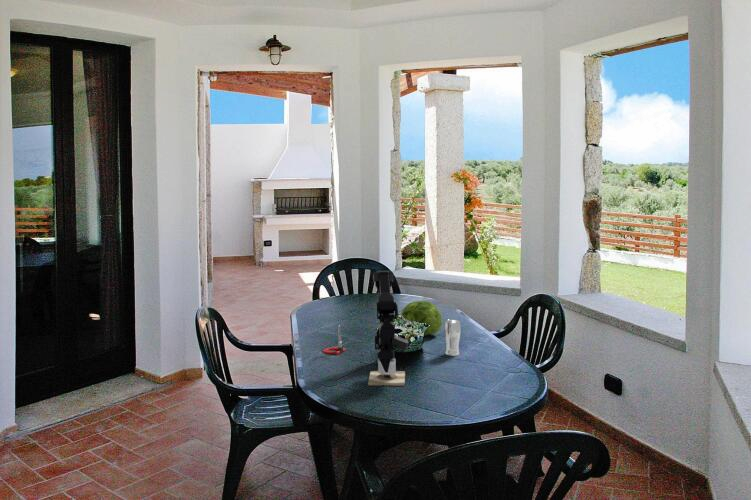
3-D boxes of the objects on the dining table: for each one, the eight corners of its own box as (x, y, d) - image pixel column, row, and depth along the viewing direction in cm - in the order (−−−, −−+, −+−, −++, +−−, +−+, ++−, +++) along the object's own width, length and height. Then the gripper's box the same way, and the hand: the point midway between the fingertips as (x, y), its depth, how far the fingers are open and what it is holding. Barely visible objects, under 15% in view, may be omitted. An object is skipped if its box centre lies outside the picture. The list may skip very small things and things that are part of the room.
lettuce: (410, 310, 323) (391, 296, 310) (449, 307, 309) (430, 292, 296) (404, 342, 315) (384, 329, 302) (444, 341, 301) (425, 327, 288)
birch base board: (370, 373, 248) (370, 370, 248) (404, 373, 247) (404, 370, 247) (368, 385, 234) (368, 382, 234) (404, 385, 233) (404, 382, 233)
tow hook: (320, 353, 278) (337, 355, 273) (318, 326, 276) (335, 327, 272) (330, 349, 285) (347, 350, 280) (328, 322, 284) (345, 323, 279)
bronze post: (384, 375, 242) (384, 364, 241) (390, 375, 242) (390, 364, 241) (383, 377, 240) (383, 366, 239) (389, 377, 239) (389, 366, 239)
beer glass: (463, 355, 271) (463, 322, 269) (449, 357, 268) (449, 323, 266) (455, 350, 277) (455, 318, 275) (441, 352, 275) (441, 320, 273)
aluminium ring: (378, 368, 244) (378, 356, 243) (395, 369, 244) (395, 356, 243) (377, 374, 237) (377, 362, 237) (395, 374, 237) (395, 362, 236)
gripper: (406, 337, 229) (407, 377, 231) (407, 324, 247) (407, 362, 249) (377, 337, 229) (377, 377, 231) (379, 324, 248) (380, 361, 250)
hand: (386, 369), depth 240 cm, fingers closed on aluminium ring, 7 cm apart
